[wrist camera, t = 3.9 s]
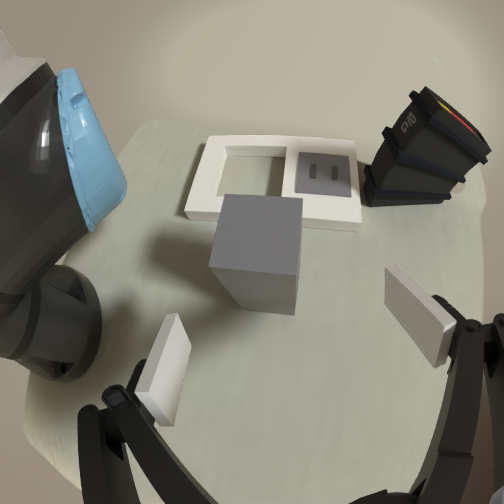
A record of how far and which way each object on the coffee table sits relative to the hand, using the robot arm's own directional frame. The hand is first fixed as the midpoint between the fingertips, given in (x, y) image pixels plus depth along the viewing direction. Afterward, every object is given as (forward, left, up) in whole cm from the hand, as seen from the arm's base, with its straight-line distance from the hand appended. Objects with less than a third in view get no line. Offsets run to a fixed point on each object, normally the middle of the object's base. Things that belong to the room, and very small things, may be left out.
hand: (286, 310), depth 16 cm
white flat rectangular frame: (-3, +17, -10) cm, 20 cm away
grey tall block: (-2, +4, -10) cm, 11 cm away
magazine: (+14, +17, -10) cm, 24 cm away
